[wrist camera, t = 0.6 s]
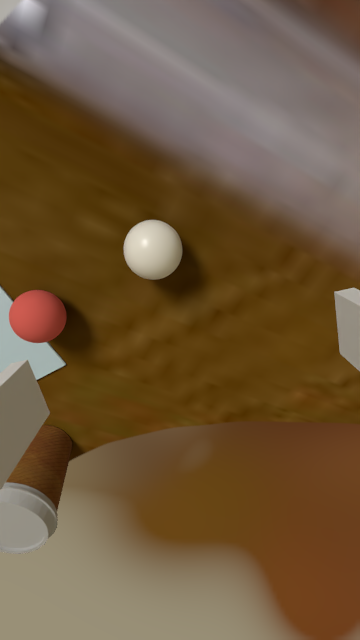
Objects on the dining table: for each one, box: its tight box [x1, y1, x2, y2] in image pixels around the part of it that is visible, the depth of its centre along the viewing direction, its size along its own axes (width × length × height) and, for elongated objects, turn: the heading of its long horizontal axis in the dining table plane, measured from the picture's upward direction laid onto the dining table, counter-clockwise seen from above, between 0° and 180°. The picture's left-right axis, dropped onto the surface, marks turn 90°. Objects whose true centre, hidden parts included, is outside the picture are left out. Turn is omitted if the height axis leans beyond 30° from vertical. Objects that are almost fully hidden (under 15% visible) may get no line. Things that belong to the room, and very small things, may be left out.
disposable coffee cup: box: [0, 425, 72, 554], centre depth 40 cm, size 10×10×12 cm
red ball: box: [9, 290, 67, 343], centre depth 35 cm, size 6×6×6 cm
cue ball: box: [124, 220, 182, 280], centre depth 31 cm, size 6×6×6 cm
